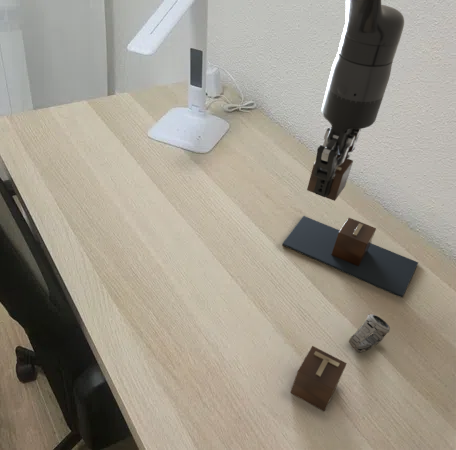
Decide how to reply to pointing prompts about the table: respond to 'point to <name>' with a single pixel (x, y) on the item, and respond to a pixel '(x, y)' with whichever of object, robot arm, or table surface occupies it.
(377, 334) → the silver wristwatch
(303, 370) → the tile
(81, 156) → the table surface
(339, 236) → the tile
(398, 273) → the mat
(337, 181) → the tile
